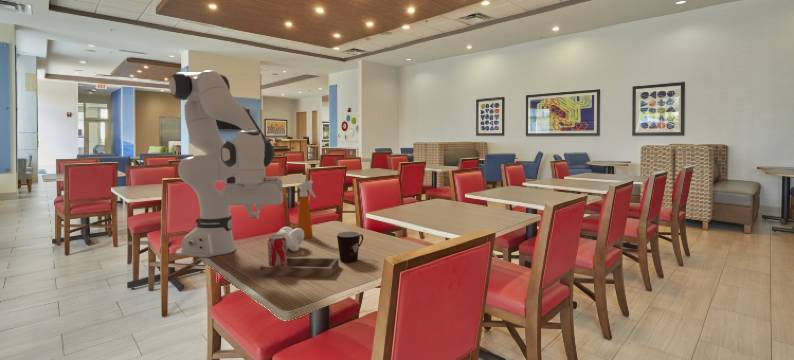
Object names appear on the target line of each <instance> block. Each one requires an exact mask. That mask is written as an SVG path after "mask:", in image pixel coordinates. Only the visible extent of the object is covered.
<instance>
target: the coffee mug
mask: <svg viewBox="0 0 794 360" xmlns="http://www.w3.org/2000/svg"><path fill="white" fill-rule="evenodd" d="M360 237H361V238H360ZM336 238H337V246H338V254H339V255H338V256H339V261H340V262H341V263H344V264H351V263H355V262H357V261H359V259H358V257H359V249H360V246H362V244H363V240H364V235H363V234H362V233H360V232H359V231H353V230H352V231H350V230H349V231H341V232H338V233H336ZM360 239H361V241H360Z"/></svg>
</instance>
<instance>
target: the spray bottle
mask: <svg viewBox="0 0 794 360" xmlns="http://www.w3.org/2000/svg"><path fill="white" fill-rule="evenodd" d="M313 183H314V181H313V180H306V181H304V182H302V183H300V184H299V185H298V186H297V189H298V190H299V200H298V213H297V214H298V217H297V228H301V229H302V230H303V231H304V239H308V238H309V239H310V238H312V237H313V236H314V234H313V227H312V219H311V213H310V212H311V211H310V203H309V195H308V193H310V195H311V196H312V197H313V198H317V196H316V195H315V192H314V191H313V189H312V187H313V186H312V184H313Z"/></svg>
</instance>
